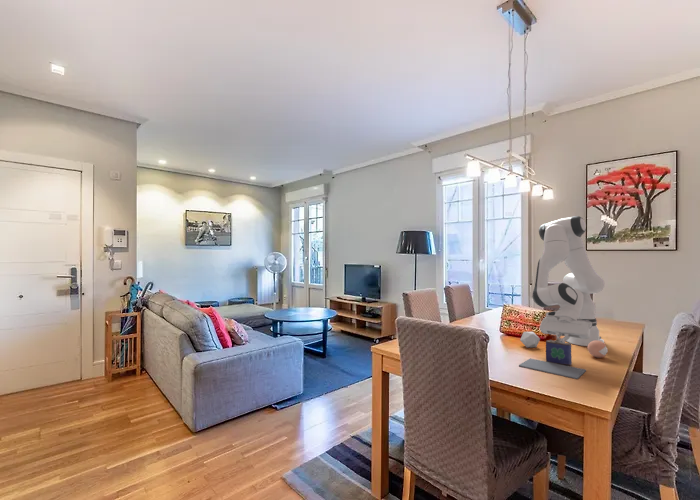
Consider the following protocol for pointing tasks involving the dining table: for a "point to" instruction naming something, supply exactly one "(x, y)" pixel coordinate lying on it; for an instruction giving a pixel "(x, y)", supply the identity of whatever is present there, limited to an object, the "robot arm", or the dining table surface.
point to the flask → (558, 352)
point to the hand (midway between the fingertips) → (560, 342)
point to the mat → (553, 368)
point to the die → (530, 339)
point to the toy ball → (597, 349)
